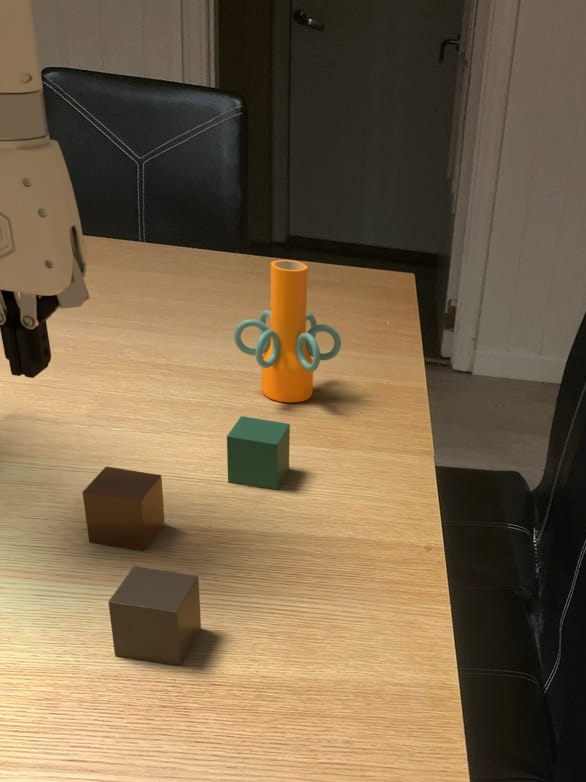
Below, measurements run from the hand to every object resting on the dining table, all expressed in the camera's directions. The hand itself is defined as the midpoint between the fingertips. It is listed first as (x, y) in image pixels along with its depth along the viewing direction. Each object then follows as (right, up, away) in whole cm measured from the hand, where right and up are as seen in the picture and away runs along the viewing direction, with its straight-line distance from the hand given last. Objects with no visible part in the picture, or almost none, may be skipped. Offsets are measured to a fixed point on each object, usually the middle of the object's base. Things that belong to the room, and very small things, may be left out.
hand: (30, 370), depth 76 cm
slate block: (+11, -22, -3) cm, 25 cm away
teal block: (+14, -5, +20) cm, 25 cm away
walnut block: (+5, -12, +9) cm, 16 cm away
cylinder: (+13, +8, +38) cm, 41 cm away
